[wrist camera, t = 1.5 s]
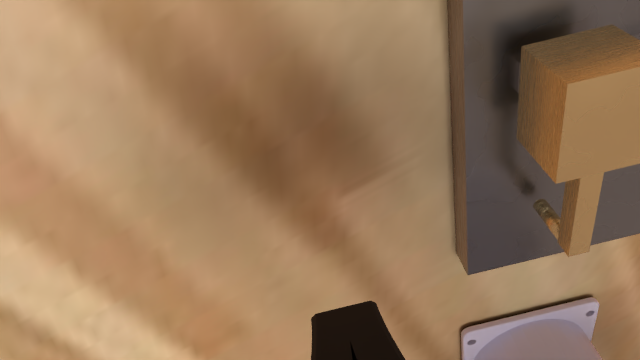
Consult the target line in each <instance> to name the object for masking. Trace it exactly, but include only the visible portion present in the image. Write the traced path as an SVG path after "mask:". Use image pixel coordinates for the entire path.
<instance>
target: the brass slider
mask: <svg viewBox="0 0 640 360" xmlns="http://www.w3.org/2000/svg"><path fill="white" fill-rule="evenodd" d="M516 138H517V140H518V141H519V142H520V143H521V144H522V145H523V147H524V148H525V149H526V150H527V151H528V152H529V154H530V155H531V156H532V157H533V158H534V159H535V160H536V162H537V163H538V164H539V165H540V166H541V167H542V169H543V170H544V171H545V172H546V173H547V174H548V176H549V177H550V178H551V179H552V180H553V181H554V183H555V184H557V183H562V182H565V190H564V197H563V205H562V212H561V218H560V217H559V216H558V214H557V213H556V212H555V211H554V209H553V208H552V207H551V206H550V204H549V203H548V202H547V201H546V200H545V199H539V200H537V201H536V202H535V203H534V204H533V208H534V209H535V211H536V212H537V213H538V215H539V216H540V217H541V219H542V220H543V221H544V223H545V224H546V225H547V227H548V228H549V229H550V231H551V232H552V233H553V235H554V236H555V237H556V239H557V240H558V244H559V245H560V246H561V248H562V249H563V250H564V252H565V253H566V254H567V256H568V257H569V256H573V255H577V254H582V253H586V252H589V249H590V244H591V239H592V233H593V228H594V223H595V218H596V212H597V207H598V202H599V196H600V191H601V186H602V181H603V175H604V172H607V171H611V170H615V169H619V168H623V167H628V166H632V165H636V164H640V40H638V39H637V38H635V37H633V36H631V35H630V34H628V33H626V32H625V31H623V30H621V29H619V28H618V27H616V26H614V25H612V24H611V25H607V26H603V27H599V28H595V29H590V30H586V31H582V32H578V33H574V34H570V35H566V36H561V37H557V38H553V39H549V40H545V41H541V42H537V43H532V44H528V45H524V46H522V47H521V65H520V83H519V101H518V119H517V137H516Z"/></svg>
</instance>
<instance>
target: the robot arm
mask: <svg viewBox="0 0 640 360" xmlns="http://www.w3.org/2000/svg"><path fill="white" fill-rule="evenodd" d="M598 309H599V303H598V301H597V300H596V299H595V298H592V297H590V298H585V299H581V300H577V301H573V302H569V303H564V304H560V305H556V306H552V307H548V308H544V309H540V310H536V311H532V312H527V313H523V314H519V315H515V316H511V317H507V318H503V319H499V320H495V321H491V322H486V323H482V324H478V325H474V326H470V327H467V328H465V329H464V330H463V331H462V332H461V351H462V360H603V359H602V358H601V356H600V355H599V353H598V352H597V350H596V349H595V347H594V346H593V344H592V343H591V339H592V335H593V331H594V326H595V322H596V317H597V313H598ZM311 321H312V354H311V360H405V358H404V357H403V355H402V353H401V352H400V350H399V348H398V347H397V345H396V343H395V341H394V340H393V338H392V336H391V334H390V332H389V331H388V329H387V327H386V325H385V323H384V321H383V319H382V316H381V314H380V312H379V310H378V307H377V304H376V303H375V302H372V301H367V302H363V303H359V304H355V305H351V306H346V307H342V308H338V309H334V310H330V311H326V312H322V313H318V314H315V315H314V316H313V317H312V318H311Z"/></svg>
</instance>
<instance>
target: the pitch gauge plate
mask: <svg viewBox="0 0 640 360" xmlns="http://www.w3.org/2000/svg"><path fill="white" fill-rule="evenodd" d="M447 2H448V30H449V58H450V85H451V113H452V141H453V168H454V196H455V224H456V252H457V255H458V257H459V259H460V261H461V263H462V265H463V267H464V269H465V271H466V273H467V275H470V274H474V273H479V272H483V271H487V270H491V269H495V268H499V267H503V266H507V265H512V264H516V263H520V262H524V261H528V260H532V259H536V258H540V257H544V256H549V255H553V254H557V253H561V252H564V250H563V249H562V248H561V246H560V245H559V244H558V240H557V239H556V237H555V236H554V235H553V233H552V232H551V231H550V229H549V228H548V227H547V225H546V224H545V223H544V221H543V220H542V219H541V217H540V216H539V215H538V213H537V212H536V211H535V209H534V208H533V204H534V203H535V202H536V201H537V200H539V199H545V200H546V201H547V202H548V203H549V204H550V206H551V207H552V208H553V209H554V211H555V212H556V213H557V214H558V216H559V217H560V218H561V212H562V205H563V197H564V190H565V182H562V183H557V184H555V183H554V181H553V180H552V179H551V178H550V177H549V176H548V174H547V173H546V172H545V171H544V170H543V169H542V167H541V166H540V165H539V164H538V163H537V162H536V160H535V159H534V158H533V157H532V156H531V155H530V154H529V152H528V151H527V150H526V149H525V148H524V147H523V145H522V144H521V143H520V142H519V141H518V140H517V138H516V137H517V119H518V101H519V83H520V65H521V47H522V46H524V45H528V44H532V43H537V42H541V41H545V40H549V39H553V38H557V37H561V36H566V35H570V34H574V33H578V32H582V31H586V30H590V29H595V28H599V27H603V26H607V25H611V24H612V25H614V26H616V27H618V28H619V29H621V30H623V31H625V32H626V33H628V34H630V35H631V36H633V37H635V38H637V39H638V40H640V0H447ZM639 233H640V164H636V165H632V166H628V167H623V168H619V169H615V170H611V171H607V172H604V175H603V181H602V186H601V191H600V196H599V202H598V207H597V212H596V218H595V223H594V228H593V233H592V239H591V244H590V245H594V244H598V243H602V242H606V241H610V240H614V239H619V238H623V237H627V236H631V235H635V234H639Z"/></svg>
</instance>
